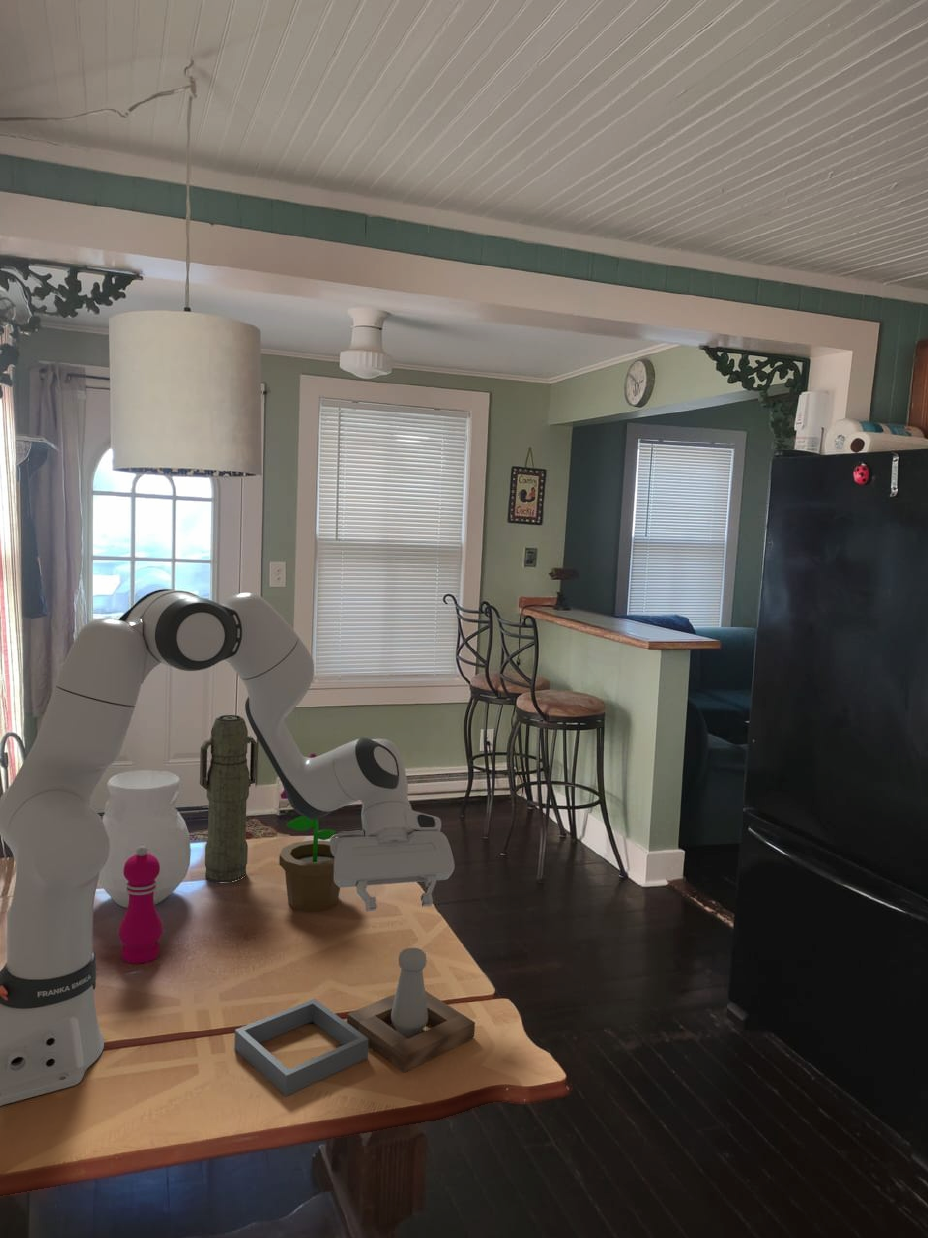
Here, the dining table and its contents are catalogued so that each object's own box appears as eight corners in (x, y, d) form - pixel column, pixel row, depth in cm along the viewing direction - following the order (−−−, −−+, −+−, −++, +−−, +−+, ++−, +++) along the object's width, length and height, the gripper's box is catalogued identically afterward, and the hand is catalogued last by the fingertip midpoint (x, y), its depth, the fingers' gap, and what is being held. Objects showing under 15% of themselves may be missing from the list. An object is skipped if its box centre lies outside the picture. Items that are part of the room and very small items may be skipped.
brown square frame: (404, 1072, 129) (404, 1056, 128) (346, 1029, 139) (347, 1014, 138) (474, 1037, 138) (474, 1022, 138) (415, 999, 148) (416, 985, 148)
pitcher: (137, 928, 168) (138, 799, 165) (72, 903, 177) (72, 780, 174) (209, 894, 184) (212, 776, 182) (147, 873, 193) (148, 760, 190)
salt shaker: (418, 1046, 135) (422, 964, 134) (384, 1036, 137) (387, 956, 136) (433, 1026, 141) (437, 947, 139) (400, 1017, 143) (403, 940, 141)
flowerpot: (320, 881, 194) (325, 746, 191) (362, 903, 184) (368, 761, 181) (264, 898, 184) (268, 756, 181) (305, 922, 174) (310, 772, 171)
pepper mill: (112, 952, 158) (113, 843, 156) (152, 942, 163) (154, 836, 161) (127, 969, 153) (128, 857, 151) (168, 958, 157) (170, 848, 155)
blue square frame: (285, 1096, 122) (286, 1075, 122) (234, 1049, 132) (234, 1030, 132) (367, 1058, 132) (368, 1039, 131) (314, 1016, 142) (314, 998, 141)
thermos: (191, 873, 194) (194, 715, 190) (242, 863, 201) (246, 710, 198) (207, 888, 187) (211, 724, 183) (259, 876, 195) (264, 719, 191)
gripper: (331, 824, 148) (339, 905, 140) (449, 817, 155) (463, 895, 146) (325, 840, 153) (333, 920, 145) (440, 833, 159) (453, 909, 151)
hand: (399, 907), depth 146 cm, fingers open, 8 cm apart
